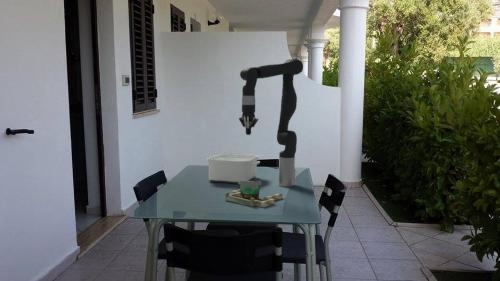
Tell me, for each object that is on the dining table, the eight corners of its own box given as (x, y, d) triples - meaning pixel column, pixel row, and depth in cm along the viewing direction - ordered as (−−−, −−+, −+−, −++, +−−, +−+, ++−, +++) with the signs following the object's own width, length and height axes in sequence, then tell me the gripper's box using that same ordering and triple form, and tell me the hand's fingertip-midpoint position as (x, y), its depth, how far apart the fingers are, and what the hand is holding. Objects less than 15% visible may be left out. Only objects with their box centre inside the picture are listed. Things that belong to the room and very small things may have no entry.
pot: (199, 182, 283) (199, 158, 281) (216, 174, 310) (216, 152, 308) (251, 186, 272) (252, 162, 270) (265, 177, 299) (265, 155, 297)
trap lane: (249, 191, 259) (249, 184, 259) (289, 199, 241) (289, 192, 241) (218, 198, 241) (218, 191, 241) (259, 208, 223) (259, 200, 222)
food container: (238, 200, 237) (238, 182, 236) (238, 198, 243) (238, 179, 242) (262, 200, 238) (262, 182, 236) (261, 198, 244) (261, 179, 243)
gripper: (261, 104, 254) (261, 135, 256) (244, 103, 263) (244, 133, 265) (253, 104, 248) (252, 136, 251) (235, 103, 257) (235, 134, 259)
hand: (248, 134), depth 258 cm, fingers closed
